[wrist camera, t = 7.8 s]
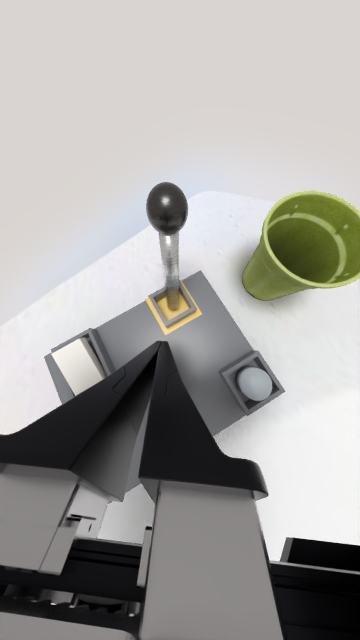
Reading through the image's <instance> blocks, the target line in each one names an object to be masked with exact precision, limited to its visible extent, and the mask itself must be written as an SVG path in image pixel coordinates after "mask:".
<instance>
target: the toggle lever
mask: <svg viewBox="0 0 360 640" xmlns="http://www.w3.org/2000/svg"><path fill="white" fill-rule="evenodd" d="M146 210H147V216H148V219H149V221H150V223H151V225H152V226H153V227H154V229H155V230H157V231H158V232H159V239H160V248H161V257H162V265H163V274H164V283H165V292H166V300H167V307H168V308H169V309H176V308H178V306H179V231H180V230H181V229H182V227H183V226H184V224H185V222H186V220H187V216H188V204H187V200H186V197H185V195H184V193H183V192H182V190H181V189H180V188H178V187H177V186H176V185H174V184H172V183H169V182H163V183H160V184H158V185H156V186H155V187H154V188H153V189H152V190H151V192H150V193H149V196H148V199H147V204H146Z"/></svg>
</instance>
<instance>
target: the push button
mask: <svg viewBox="0 0 360 640" xmlns="http://www.w3.org/2000/svg"><path fill="white" fill-rule="evenodd" d="M237 385H238V388H239V389H240V391H241V392H242V393H243V394H245V395H246V396H247V397H249V398H250V399H252V400H255V401H261V400H264V399H266V398H267V397H268V396H269V395H270V393H271V391H272V381H271V379H270V377H269V375H268V374H267V373H266V372H265V371H263V370H261V369H258V368H255V367H251V366H248V367H244V368H242V369H241V370H240V371H239V373H238V375H237Z"/></svg>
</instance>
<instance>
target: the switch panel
mask: <svg viewBox="0 0 360 640" xmlns="http://www.w3.org/2000/svg"><path fill="white" fill-rule="evenodd" d="M148 297H149V298H148V299H146V301H144V302H142V303H141V304H139V305H137V306H135V307H133V308H132V309H130V310H128V311H126V312H124V313H123V314H121V315H119V316H117V317H115V318H113V319H112V320H110V321H108V322H106V323H104V324H103V325H101V326H99V327H97V328H95V329H91V328H89V329H88V330H86V331H84V332H82V333H80V334H78V335H77V336H75V337H73V338H71V339H69V340H68V341H66V342H64V343H62V344H60V345H58V346H57V347H55V348H53V349H51V351H52V353H54V352H56V351H57V350H59V349H61V348H63V347H65V346H66V345H68V344H70V343H72V342H74V341H75V340H77V339H79V338H86V340H87V342H88V343H89V345H90V347H91V348H92V350H93V352H94V354H95V355H96V357H97V359H98V361H99V362H100V364H101V366H102V367H103V369H104V371H105V373H106V374H107V376H109V375H110V374H112V373H113V372H115V371H116V370H118V369H119V368H120V367H122V366H124V365H125V364H126V363H127V362H129V361H130V360H131V359H133V358H134V357H136V356H137V355H138V354H140V353H141V352H142V351H144V350H145V349H146V348H148V347H149V346H150V345H152V344H153V343H154V342H156V341H162V342H163V341H168V343H169V346H170V348H171V351H172V354H173V357H174V360H175V363H176V366H177V368H178V371H179V374H180V376H181V379H182V381H183V383H184V385H185V387H186V389H187V391H188V392H189V394H190V396H191V398H192V400H193V402H194V403H195V405H196V407H197V409H198V411H199V412H200V414H201V416H202V418H203V420H204V422H205V423H206V425H207V427H208V429H209V431H210V432H211V434H212V436H214V435H216V434H217V433H219V432H220V431H222V430H223V429H225V428H226V427H228V426H230V425H231V424H233V423H234V422H236V421H237V420H239V419H240V418H242V417H243V416H245V415H247V416H248V415H250V414H251V413H253V412H254V411H256V410H257V409H259V408H261V407H262V406H264V405H265V404H267V403H268V402H270V401H271V400H273V399H274V398H276V397H278V396H279V395H281V394H282V393H284V392H285V390H284V389H283V387H282V386H281V384H280V383H279V381H278V380H277V378H276V377H275V375H274V374H273V372H272V371H271V369H270V368H269V366H268V365H267V363H266V362H265V360H264V359H263V357H262V356H261V354H260V353H259V351H254V350H253V349H252V347H251V346H250V344H249V343H248V341H247V340H246V338H245V337H244V335H243V334H242V332H241V330H240V329H239V327H238V326H237V324H236V323H235V321H234V320H233V318H232V317H231V315H230V314H229V312H228V311H227V309H226V308H225V306H224V305H223V303H222V302H221V300H220V299H219V297H218V296H217V294H216V293H215V291H214V290H213V288H212V287H211V285H210V284H209V282H208V281H207V279H206V278H205V276H204V275H203V273H202V272H201V271H199V272H197V273H195V274H193V275H191V276H190V277H188V278H186V279H184V280H182V281H181V280H179V306H178V308H176V309H169V308H168V307H167V300H166V292H165V287H164V288H162V289H160V290H158V291H156V292H155V293H153V294H151V295H149V296H148ZM52 353H50V354H48V355H46V356H45V357H44V358H45V361H46V363H47V366H48V369H49V371H50V374H51V376H52V379H53V382H54V384H55V387H56V390H57V392H58V395H59V397H60V400H61V403H62V404H64V403H66V402H67V401H69V400H70V399H72V398H74V397H75V394H74V393H73V391H72V389H71V387H70V386H69V384H68V382H67V381H66V379H65V377H64V375H63V374H62V372H61V370H60V368H59V367H58V365H57V363H56V362H55V360H54V358H53V356H52V355H51V354H52ZM248 366H251V367H255V368H258V369H261V370H263V371H265V372H266V373H267V374H268V375H269V377H270V379H271V381H272V391H271V393H270V395H269V396H268V397H267V398H266V399H264V400H261V401H255V400H252V399H250V398H249V397H247V396H246V395H245V394H243V393H242V392H241V391H240V389H239V388H238V385H237V375H238V373H239V371H240V370H241V369H242V368H244V367H248ZM86 390H87V389H86ZM84 391H85V390H84ZM81 393H82V392H81ZM79 394H80V393H79ZM79 394H77V395H79ZM77 395H76V396H77ZM150 400H151V397H150ZM150 400H149V403H148V406H147V409H146V412H145V415H144V418H143V421H142V424H141V427H140V430H139V433H138V436H137V439H136V442H135V446H134V450H133V455H132V460H131V465H130V470H129V475H128V480H127V485H126V490H125V493H126V492H128V491H129V490H131V489H132V488H134V487H135V486H137V485H138V484H140V483H141V481H140V480H139V478H138V474H139V468H140V461H141V455H142V449H143V443H144V436H145V430H146V424H147V418H148V412H149V405H150ZM111 502H112V501H110V500H109V501H108V504H109V503H111ZM108 504H107V505H108Z"/></svg>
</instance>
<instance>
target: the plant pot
mask: <svg viewBox="0 0 360 640" xmlns="http://www.w3.org/2000/svg"><path fill="white" fill-rule="evenodd" d="M359 278H360V212H359V211H358V210H357V209H356V208H355V207H354V206H353V205H351V204H350V203H348V202H347V201H345V200H344V199H342V198H340V197H337V196H335V195H332V194H329V193H324V192H318V191H303V192H297V193H294V194H291V195H289V196H287V197H285V198H283V199H281V200H280V201H278V202H277V203H276V204H275V205H274V206H273V207H272V208H271V210H270V211H269V213H268V214H267V216H266V218H265V221H264V224H263V228H262V235H261V239H260V243H259V245H258V247H257V248H256V250H255V252H254V254H253V256H252V258H251V260H250V261H249V263H248V265H247V267H246V269H245V271H244V273H243V284H244V287H245V289H246V290H247V292H249V293H250V294H252V295H253V296H254V297H256V298H257V299H260V300H272V299H275V298H279V297H282V296H285V295H289V294H292V293H296V292H299V291H303V290H306V289H315V288H335V287H340V286H344V285H347V284H350V283H352V282H354V281H356V280H357V279H359Z"/></svg>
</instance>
